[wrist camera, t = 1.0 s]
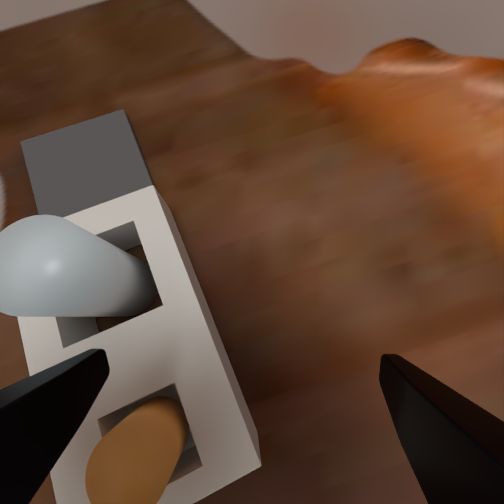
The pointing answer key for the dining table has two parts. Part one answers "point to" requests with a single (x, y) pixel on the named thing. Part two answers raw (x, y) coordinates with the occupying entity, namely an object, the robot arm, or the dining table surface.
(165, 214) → the white slotted block
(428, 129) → the dining table surface
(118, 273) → the cylinder
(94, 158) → the mat
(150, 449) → the plunger
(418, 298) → the dining table surface
